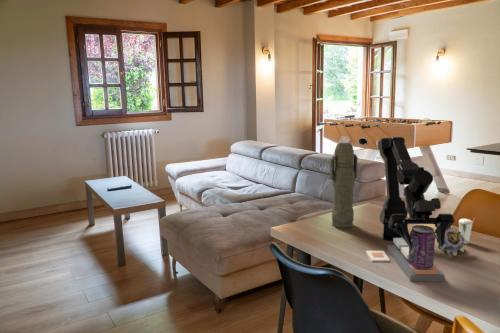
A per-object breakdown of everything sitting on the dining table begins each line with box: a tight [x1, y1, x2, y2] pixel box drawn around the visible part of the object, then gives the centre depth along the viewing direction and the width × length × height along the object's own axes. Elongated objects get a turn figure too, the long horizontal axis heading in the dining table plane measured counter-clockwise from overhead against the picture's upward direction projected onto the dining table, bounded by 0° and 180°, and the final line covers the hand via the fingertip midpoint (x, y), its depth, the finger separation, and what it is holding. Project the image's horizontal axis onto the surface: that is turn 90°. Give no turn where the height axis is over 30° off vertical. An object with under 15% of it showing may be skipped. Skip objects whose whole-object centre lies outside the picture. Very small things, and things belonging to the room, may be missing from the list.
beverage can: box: [408, 224, 436, 269], centre depth 125 cm, size 7×7×12 cm
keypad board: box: [387, 244, 446, 282], centre depth 135 cm, size 24×10×2 cm, turn 178°
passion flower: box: [434, 226, 468, 258], centre depth 145 cm, size 11×11×12 cm
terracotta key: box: [409, 263, 440, 274], centre depth 127 cm, size 6×6×1 cm
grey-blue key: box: [392, 238, 409, 249], centre depth 143 cm, size 6×6×1 cm
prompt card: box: [365, 250, 391, 263], centre depth 142 cm, size 8×6×1 cm
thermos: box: [329, 142, 359, 230], centre depth 171 cm, size 9×12×35 cm
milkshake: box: [458, 217, 476, 245], centre depth 152 cm, size 4×5×10 cm
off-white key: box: [401, 247, 409, 259], centre depth 135 cm, size 6×6×1 cm
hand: (426, 246), depth 124 cm, fingers open, 9 cm apart
